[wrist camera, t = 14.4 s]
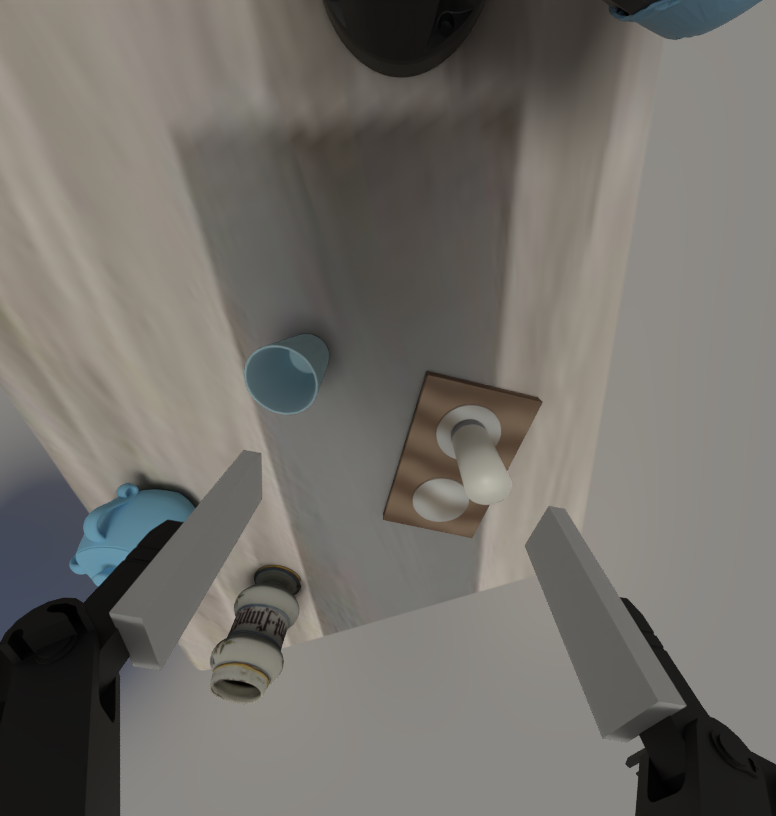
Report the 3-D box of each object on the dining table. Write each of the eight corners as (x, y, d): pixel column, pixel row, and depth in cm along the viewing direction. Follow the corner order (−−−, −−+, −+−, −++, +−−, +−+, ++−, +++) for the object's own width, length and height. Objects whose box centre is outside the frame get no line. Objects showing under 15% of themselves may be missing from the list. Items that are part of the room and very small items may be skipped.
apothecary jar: (311, 598, 64) (280, 711, 48) (257, 597, 65) (209, 708, 49) (301, 561, 59) (263, 674, 43) (243, 560, 60) (183, 671, 43)
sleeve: (457, 415, 41) (474, 464, 31) (491, 423, 41) (519, 474, 31) (445, 445, 43) (458, 499, 33) (478, 452, 43) (501, 508, 33)
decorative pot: (145, 460, 49) (60, 524, 37) (229, 511, 54) (178, 584, 41) (111, 511, 55) (28, 582, 43) (190, 554, 59) (135, 629, 47)
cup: (348, 345, 39) (330, 371, 30) (323, 390, 42) (299, 426, 33) (295, 313, 38) (259, 330, 28) (273, 362, 41) (234, 392, 31)
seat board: (427, 371, 40) (428, 376, 38) (538, 397, 41) (544, 403, 39) (383, 513, 52) (382, 522, 50) (470, 531, 53) (472, 540, 51)
